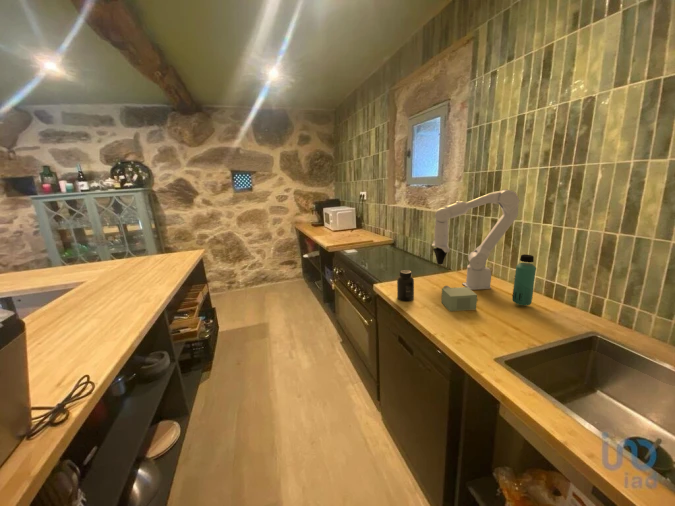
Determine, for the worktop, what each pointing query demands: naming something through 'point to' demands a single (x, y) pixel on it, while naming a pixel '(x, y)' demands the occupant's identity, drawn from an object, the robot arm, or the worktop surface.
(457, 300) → the block
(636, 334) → the worktop surface
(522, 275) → the beverage bottle
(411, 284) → the supplement bottle
